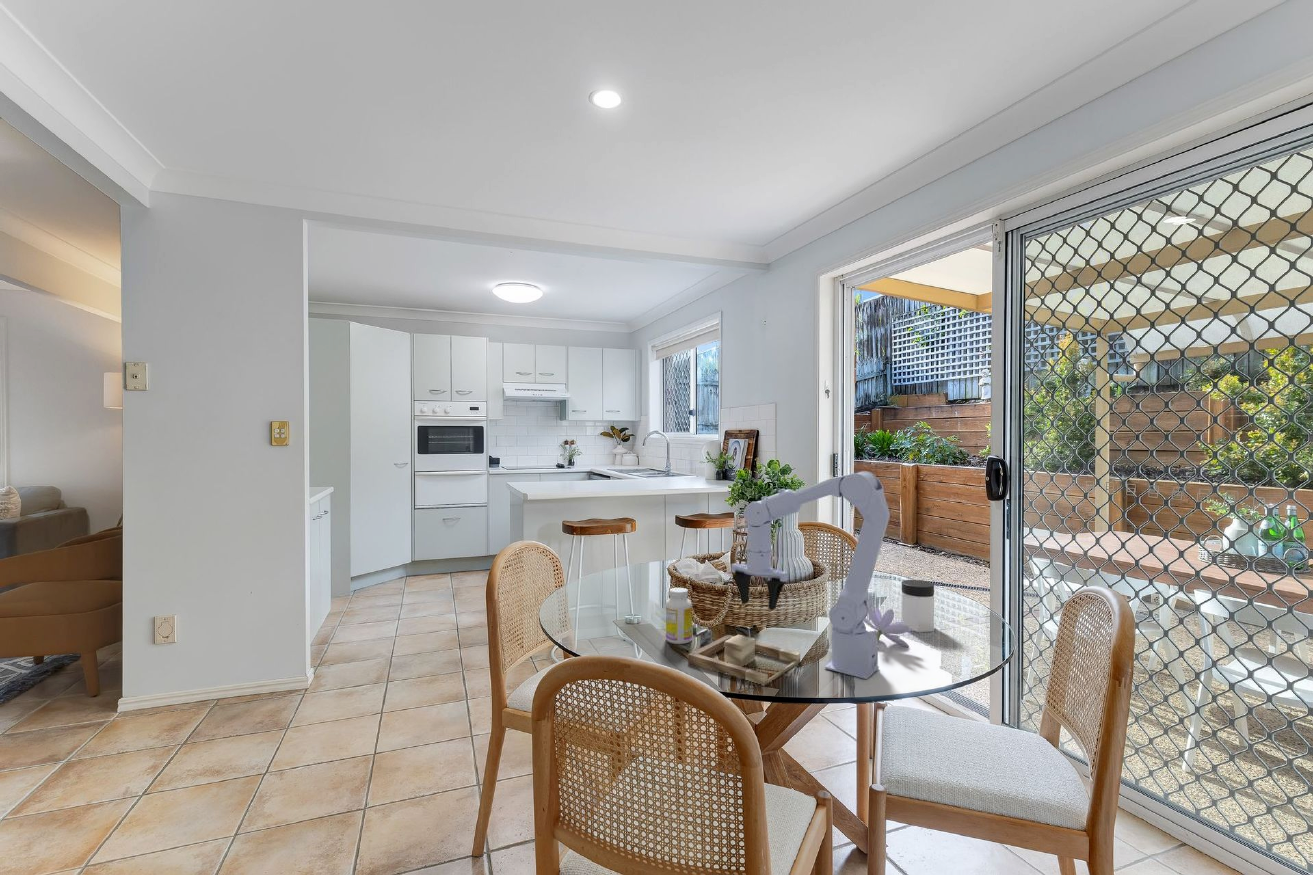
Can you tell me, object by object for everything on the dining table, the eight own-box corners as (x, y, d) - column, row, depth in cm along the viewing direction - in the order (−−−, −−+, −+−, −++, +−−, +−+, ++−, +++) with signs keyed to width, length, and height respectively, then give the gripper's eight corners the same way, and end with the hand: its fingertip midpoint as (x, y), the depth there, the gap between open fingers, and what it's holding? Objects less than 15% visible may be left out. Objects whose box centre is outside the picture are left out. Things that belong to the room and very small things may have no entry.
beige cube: (755, 659, 140) (755, 638, 140) (741, 668, 135) (741, 646, 135) (738, 655, 143) (738, 634, 142) (723, 663, 138) (723, 641, 137)
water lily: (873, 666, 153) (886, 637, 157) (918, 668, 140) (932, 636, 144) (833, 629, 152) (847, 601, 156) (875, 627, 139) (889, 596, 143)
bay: (800, 661, 138) (800, 653, 138) (764, 686, 125) (764, 676, 125) (727, 642, 151) (727, 634, 151) (688, 662, 137) (688, 654, 137)
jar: (940, 628, 162) (941, 584, 162) (926, 635, 157) (926, 589, 157) (909, 620, 169) (909, 577, 169) (893, 626, 164) (894, 582, 163)
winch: (704, 641, 151) (704, 619, 151) (714, 643, 149) (714, 622, 149) (688, 649, 146) (688, 627, 146) (698, 652, 144) (698, 629, 144)
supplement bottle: (690, 635, 155) (691, 586, 155) (693, 644, 149) (693, 593, 149) (664, 635, 155) (665, 586, 155) (666, 645, 149) (666, 593, 148)
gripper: (793, 551, 145) (793, 607, 145) (742, 544, 154) (741, 596, 154) (779, 556, 139) (779, 614, 140) (727, 548, 149) (726, 602, 149)
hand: (758, 605), depth 147 cm, fingers open, 7 cm apart
